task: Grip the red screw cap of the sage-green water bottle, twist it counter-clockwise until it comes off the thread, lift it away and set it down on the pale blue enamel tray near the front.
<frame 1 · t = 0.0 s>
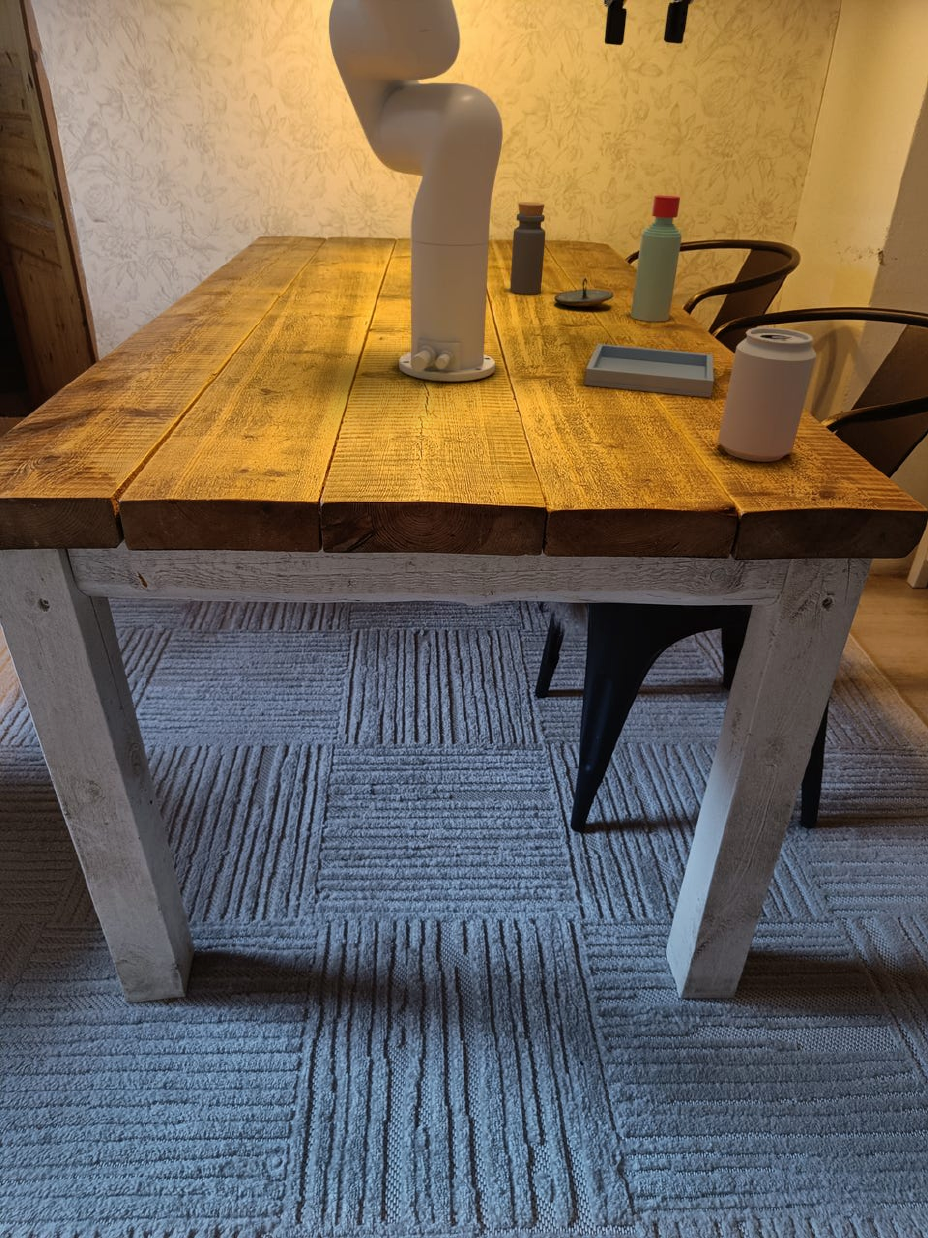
hand: (642, 43, 109), 37 cm above the table, tool pointing down, fingers open, 9 cm apart
cap: (666, 198, 132), point 18 cm above the table, screwed on, not yet turned
lid: (582, 306, 148), on the table
can: (753, 453, 86), on the table
tray: (649, 377, 109), on the table
bottle: (525, 292, 157), on the table
water bottle: (649, 317, 141), on the table
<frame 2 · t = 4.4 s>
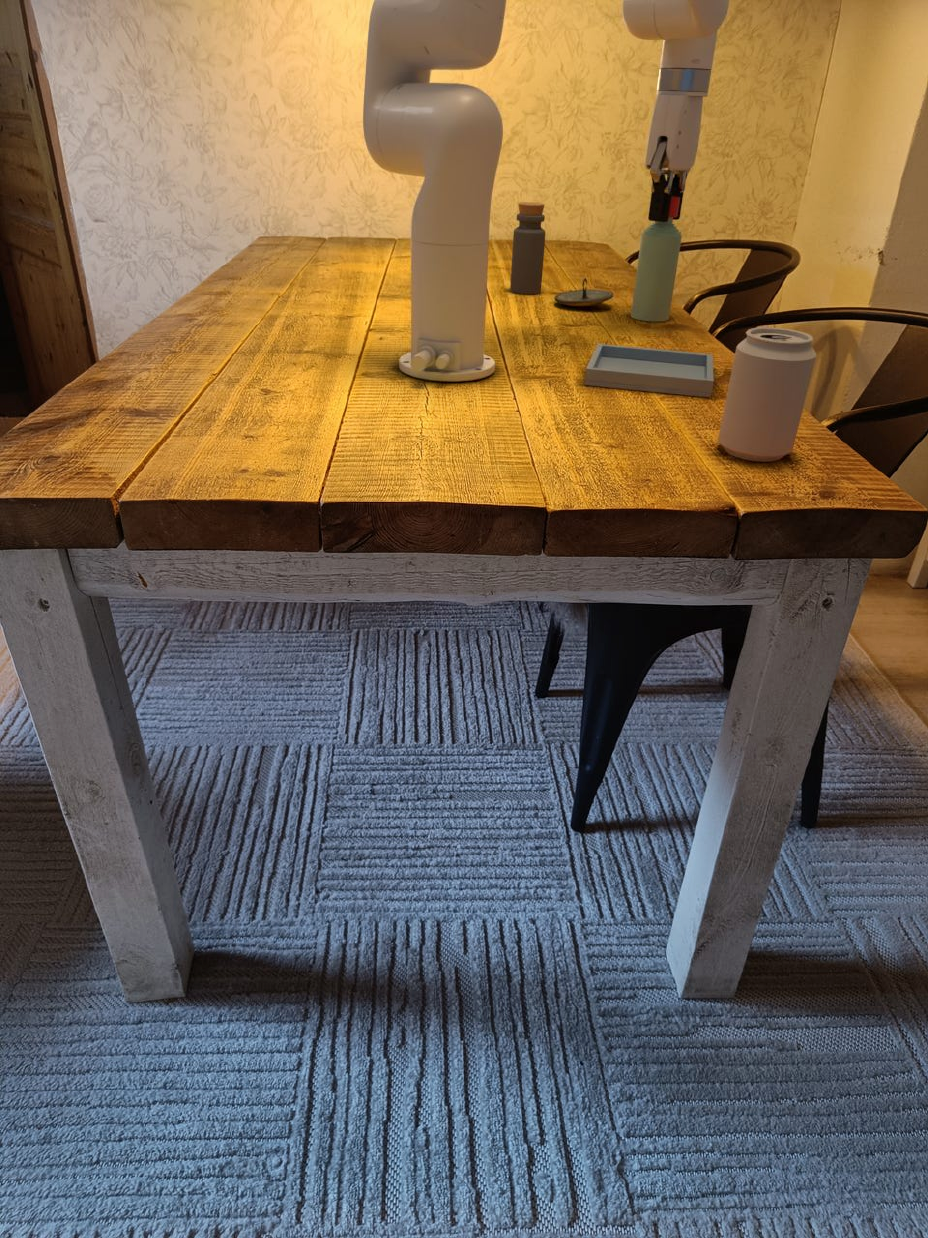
hand: (663, 218, 133), 15 cm above the table, tool pointing down, fingers closed on cap, 4 cm apart
cap: (666, 198, 132), point 18 cm above the table, screwed on, not yet turned, touching gripper
everything else where it was.
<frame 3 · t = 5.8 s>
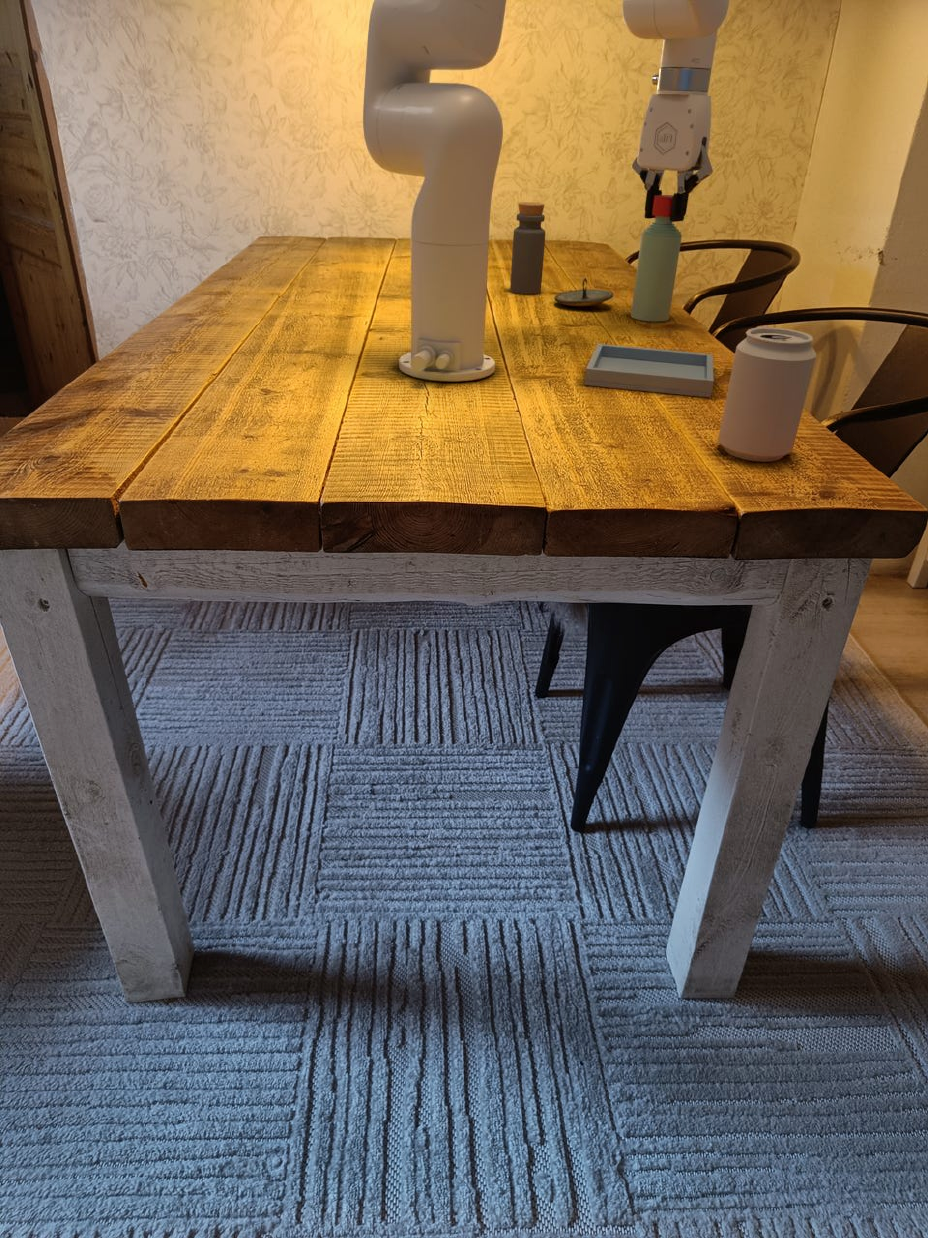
hand: (664, 218, 133), 15 cm above the table, tool pointing down, fingers closed on cap, 4 cm apart
cap: (666, 198, 132), point 18 cm above the table, turned 79° so far, risen 0.1 cm, still on its thread, touching gripper
everything else where it was.
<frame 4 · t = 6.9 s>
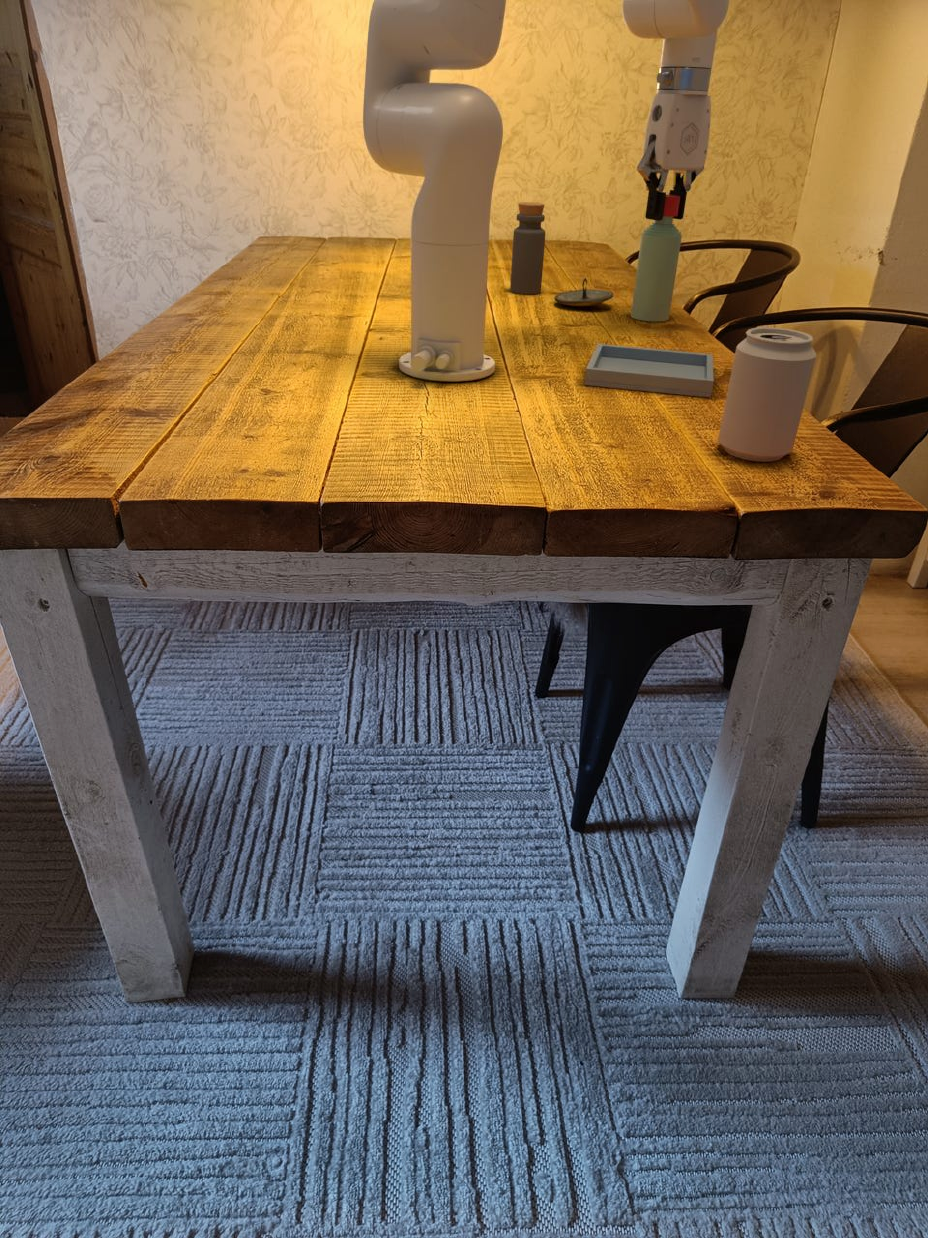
hand: (664, 217, 133), 15 cm above the table, tool pointing down, fingers closed on cap, 4 cm apart
cap: (667, 197, 132), point 18 cm above the table, turned 159° so far, risen 0.1 cm, still on its thread, touching gripper
everything else where it was.
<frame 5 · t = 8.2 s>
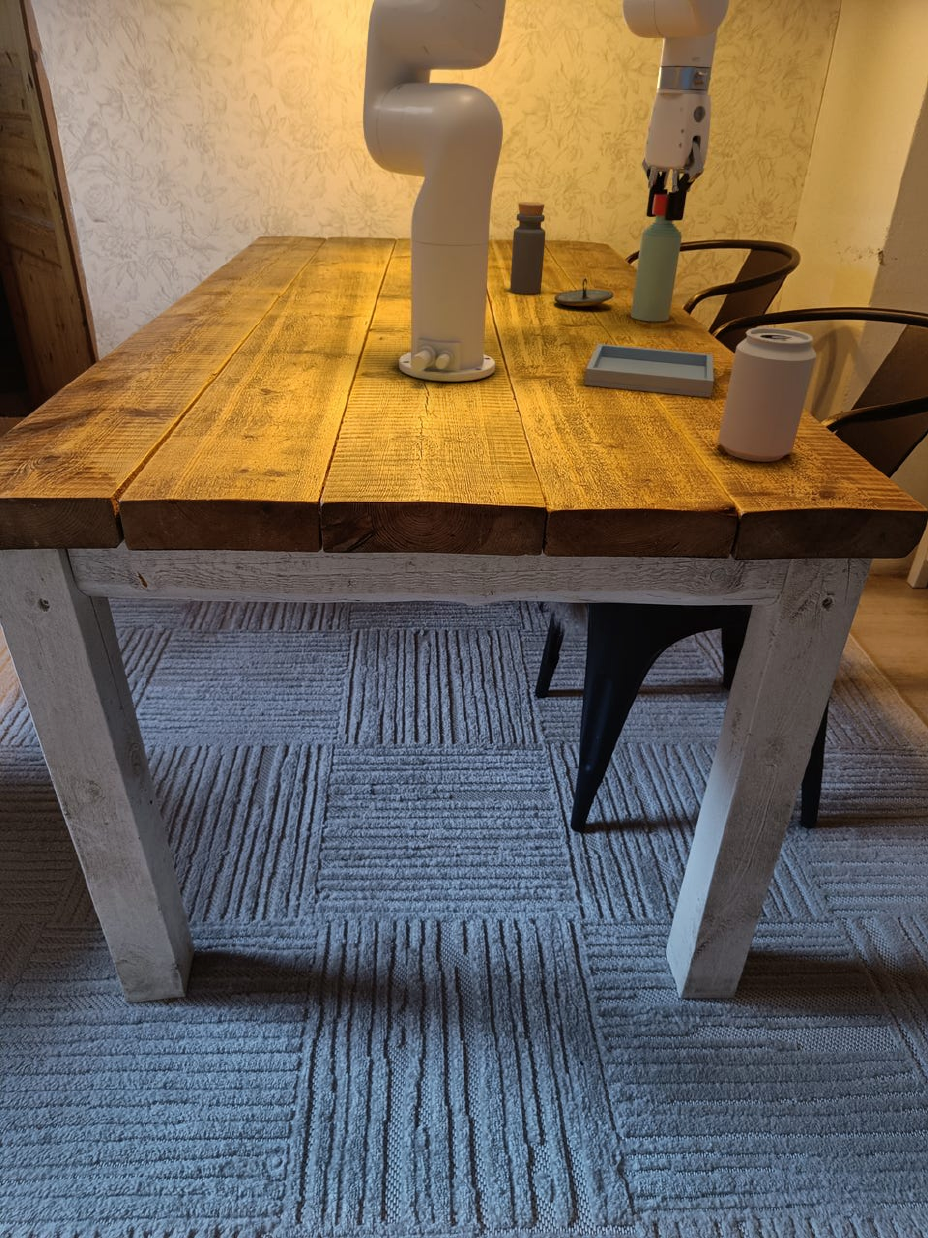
hand: (664, 216, 133), 15 cm above the table, tool pointing down, fingers closed on cap, 4 cm apart
cap: (667, 196, 132), point 18 cm above the table, turned 239° so far, risen 0.2 cm, still on its thread, touching gripper
everything else where it was.
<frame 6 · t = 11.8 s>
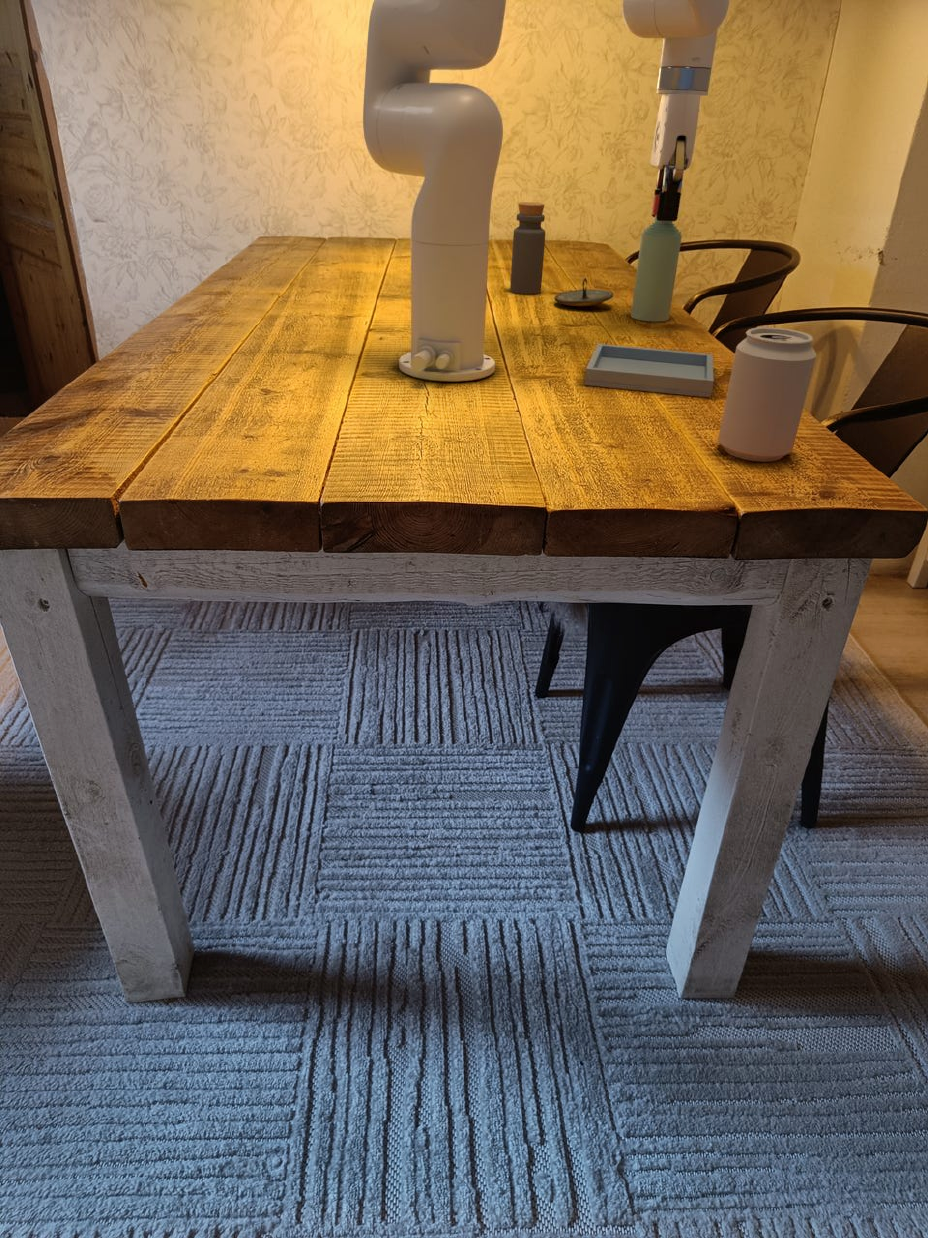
hand: (664, 217, 133), 15 cm above the table, tool pointing down, fingers closed on cap, 4 cm apart
cap: (667, 197, 132), point 18 cm above the table, off its thread, touching gripper
everything else where it was.
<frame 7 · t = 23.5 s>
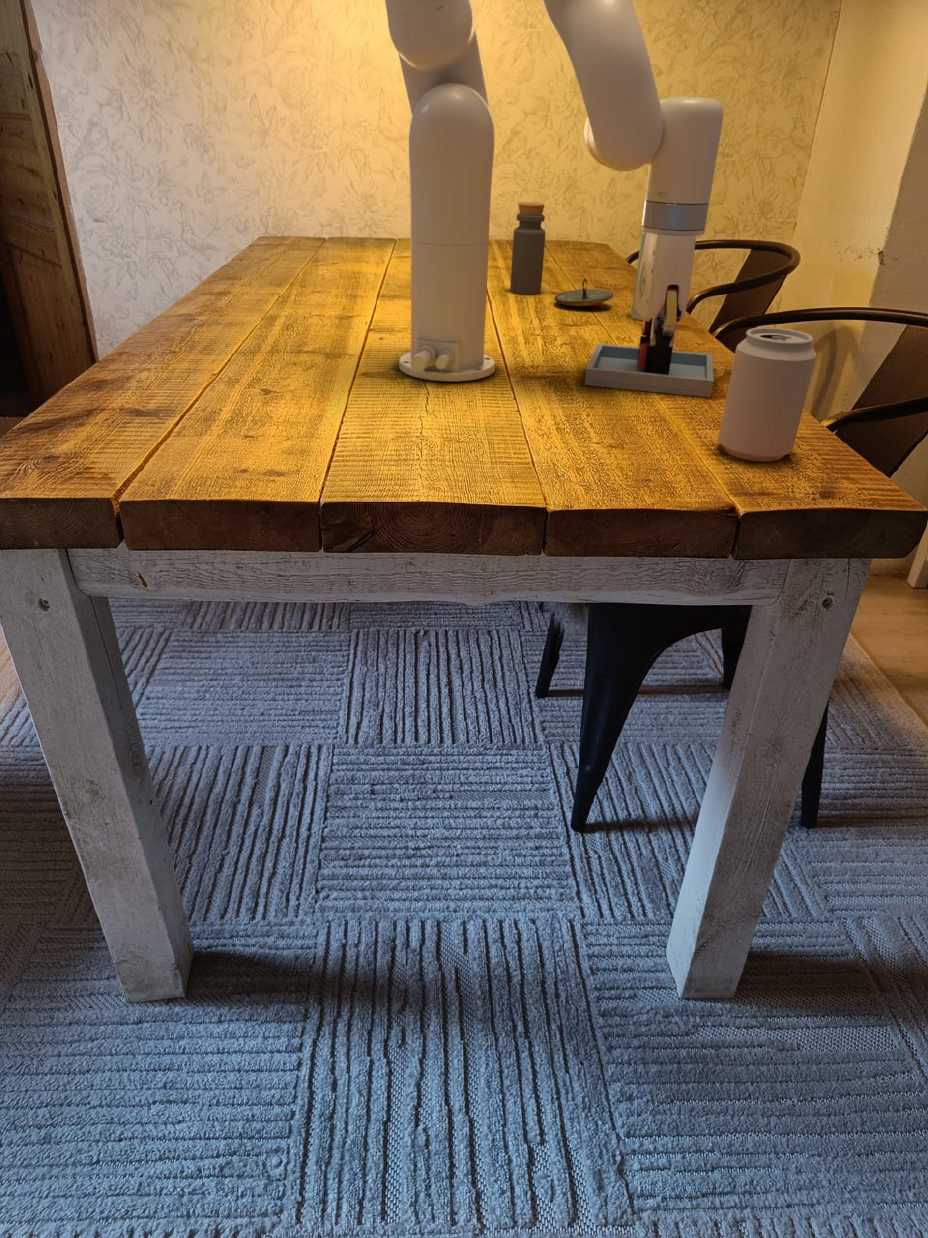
hand: (652, 370, 109), 1 cm above the table, tool pointing down, fingers closed on cap, 4 cm apart
cap: (656, 348, 107), point 4 cm above the table, off its thread, touching gripper
everything else where it was.
when the fingers open (2 cm above the table, at t = 30.8 s): cap drops 2 cm, resting on tray.
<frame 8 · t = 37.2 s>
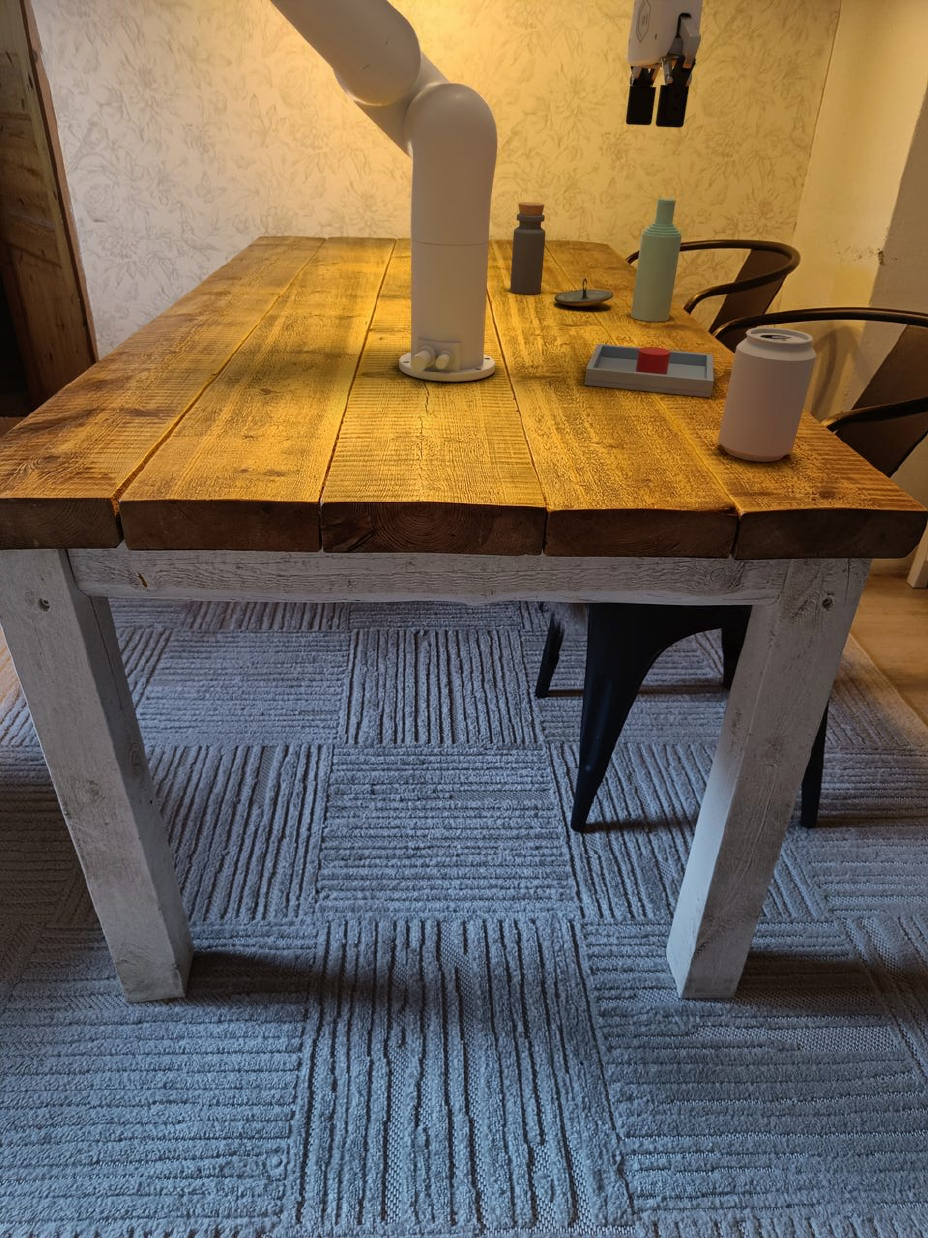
hand: (653, 125, 99), 28 cm above the table, tool pointing down, fingers open, 9 cm apart
cap: (654, 353, 108), point 3 cm above the table, off its thread, touching tray
everything else where it was.
at the end: cap inside the target area on the tray (0.1 cm from its centre), point 3.1 cm above the tray's base; cap point 3.1 cm above the table; the gripper is holding nothing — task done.
